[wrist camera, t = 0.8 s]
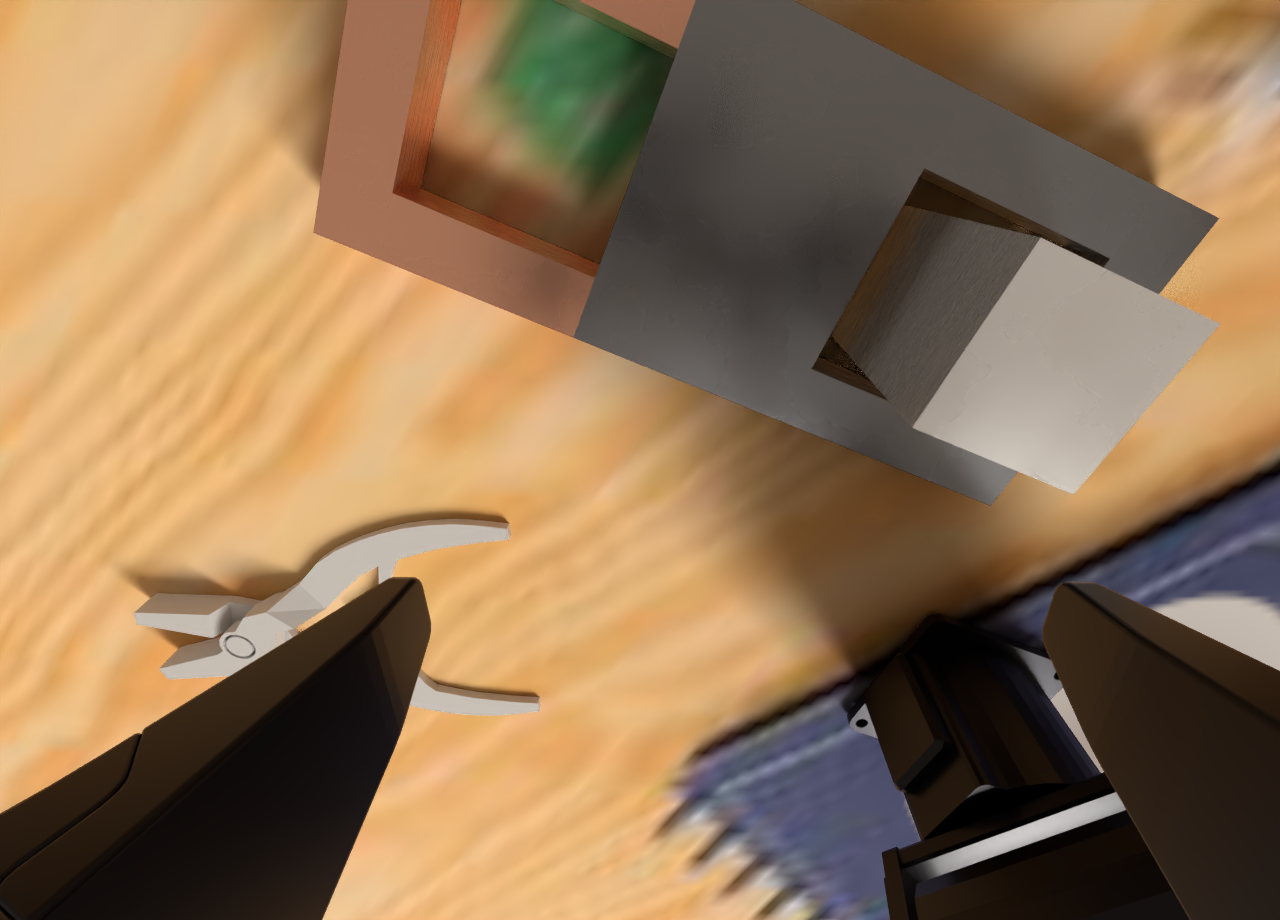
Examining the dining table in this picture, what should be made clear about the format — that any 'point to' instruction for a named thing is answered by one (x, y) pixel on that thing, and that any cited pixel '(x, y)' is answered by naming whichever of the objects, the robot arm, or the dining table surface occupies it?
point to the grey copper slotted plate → (735, 203)
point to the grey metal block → (1013, 344)
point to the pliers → (277, 617)
